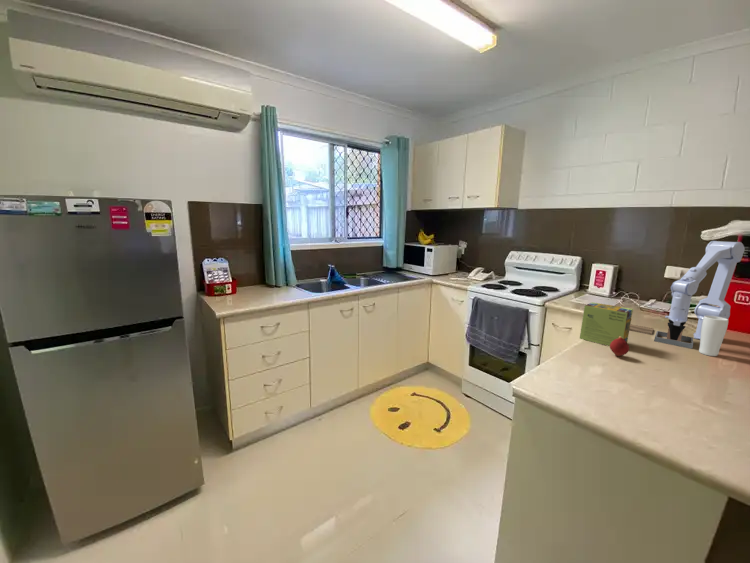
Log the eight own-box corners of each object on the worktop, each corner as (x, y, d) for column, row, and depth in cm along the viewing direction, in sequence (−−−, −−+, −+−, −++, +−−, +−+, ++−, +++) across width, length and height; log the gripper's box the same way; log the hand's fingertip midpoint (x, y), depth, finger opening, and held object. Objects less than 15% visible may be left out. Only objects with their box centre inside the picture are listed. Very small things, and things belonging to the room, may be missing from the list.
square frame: (656, 334, 148) (656, 330, 148) (692, 341, 140) (693, 337, 139) (654, 341, 140) (654, 336, 139) (692, 348, 131) (693, 344, 131)
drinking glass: (725, 358, 122) (734, 321, 120) (704, 356, 124) (713, 319, 121) (711, 351, 129) (719, 316, 126) (691, 350, 130) (699, 314, 127)
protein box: (621, 349, 129) (628, 312, 126) (579, 338, 140) (583, 305, 138) (627, 343, 136) (633, 308, 133) (586, 334, 147) (591, 301, 144)
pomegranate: (625, 354, 123) (628, 335, 122) (629, 360, 118) (633, 340, 117) (606, 352, 126) (610, 332, 124) (610, 357, 121) (613, 337, 119)
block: (666, 339, 143) (669, 324, 142) (680, 341, 140) (683, 326, 139) (665, 341, 140) (668, 326, 138) (679, 344, 137) (683, 328, 135)
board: (627, 325, 162) (628, 323, 162) (653, 330, 155) (653, 328, 155) (624, 329, 155) (625, 327, 155) (651, 334, 148) (652, 333, 148)
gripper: (668, 303, 145) (662, 332, 147) (666, 309, 135) (660, 339, 137) (689, 306, 140) (683, 335, 142) (689, 312, 130) (683, 343, 132)
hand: (673, 337), depth 139 cm, fingers open, 6 cm apart
